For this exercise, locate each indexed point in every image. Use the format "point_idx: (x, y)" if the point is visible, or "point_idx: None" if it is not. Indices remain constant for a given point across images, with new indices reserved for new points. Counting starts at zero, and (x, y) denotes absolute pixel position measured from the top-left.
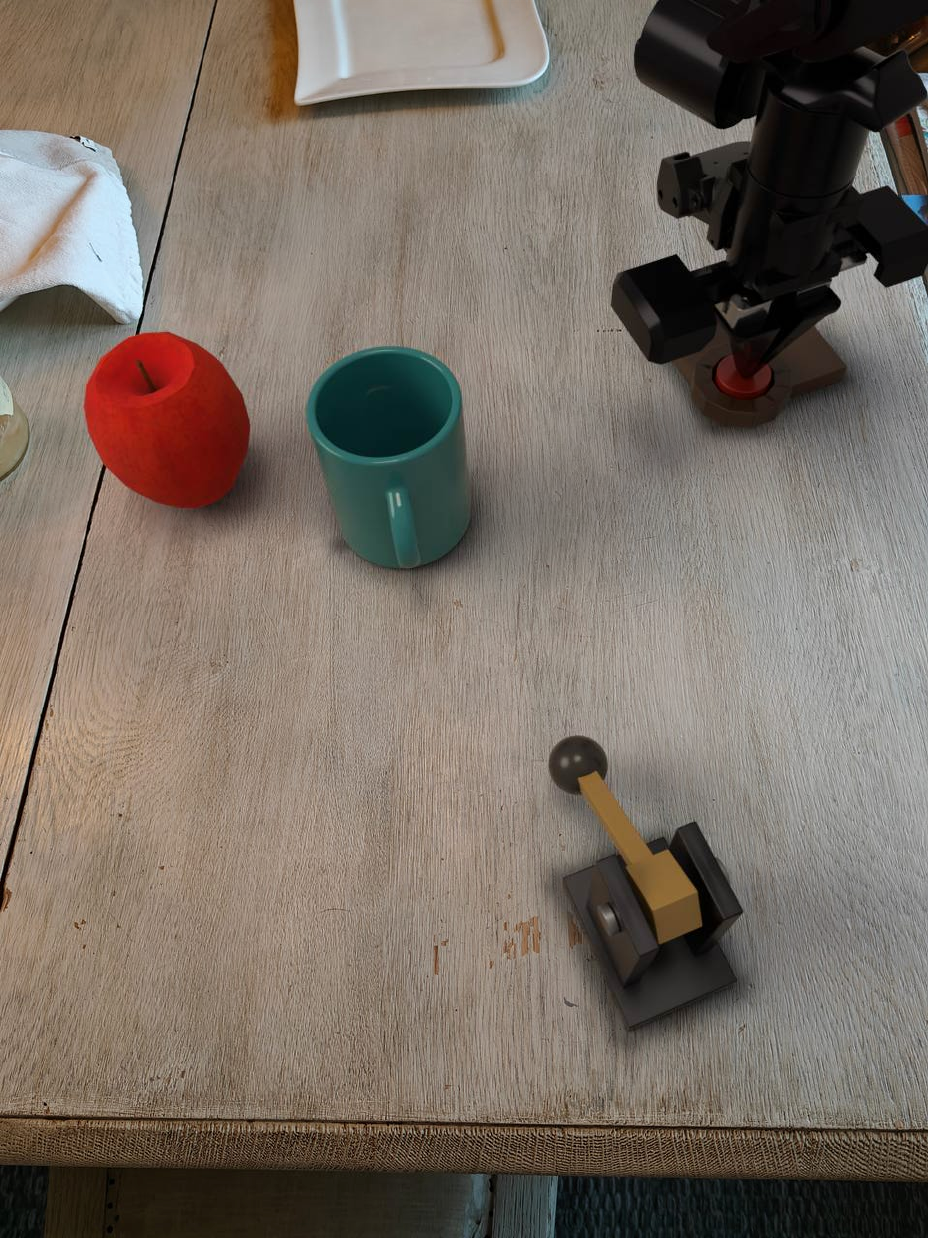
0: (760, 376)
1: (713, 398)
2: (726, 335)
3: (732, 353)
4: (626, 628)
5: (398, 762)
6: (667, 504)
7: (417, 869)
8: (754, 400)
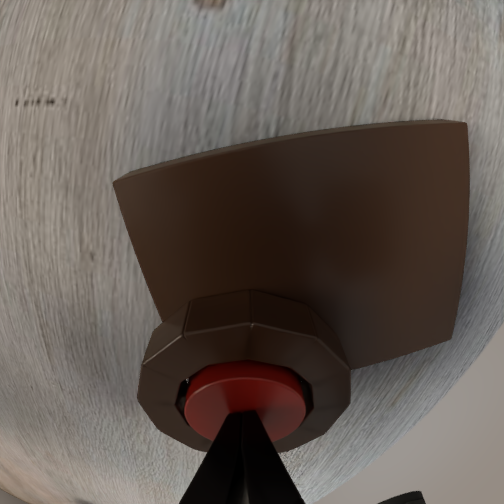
0: (275, 429)
1: (171, 431)
2: (274, 217)
3: (209, 448)
4: (96, 479)
5: (4, 465)
6: (121, 434)
7: (31, 490)
8: None
